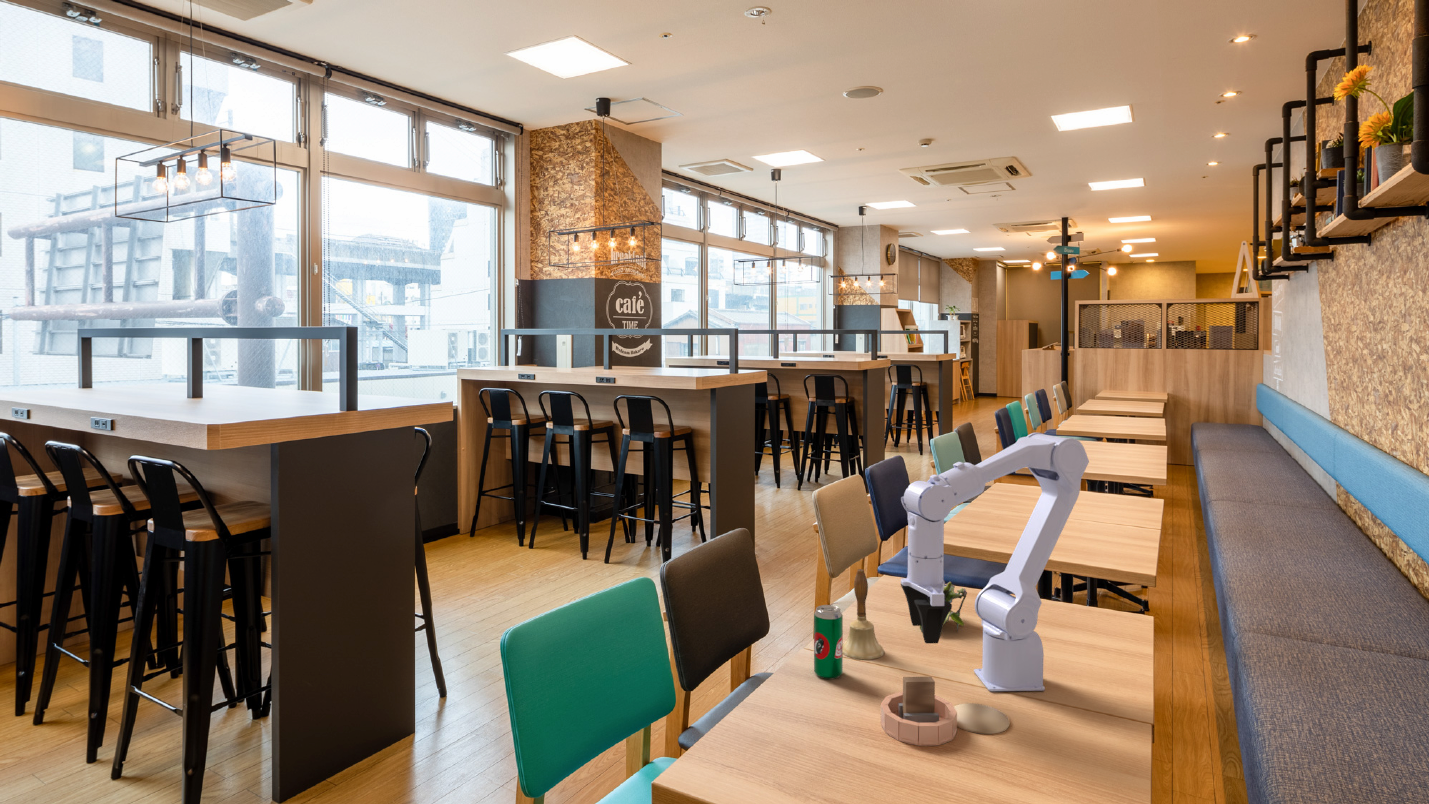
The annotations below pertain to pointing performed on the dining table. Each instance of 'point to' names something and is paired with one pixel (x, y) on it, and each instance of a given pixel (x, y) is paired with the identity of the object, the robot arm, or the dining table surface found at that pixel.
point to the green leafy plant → (949, 596)
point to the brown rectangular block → (918, 695)
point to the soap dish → (919, 722)
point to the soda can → (828, 642)
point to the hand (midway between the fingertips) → (924, 633)
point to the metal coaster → (981, 718)
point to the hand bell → (861, 627)
